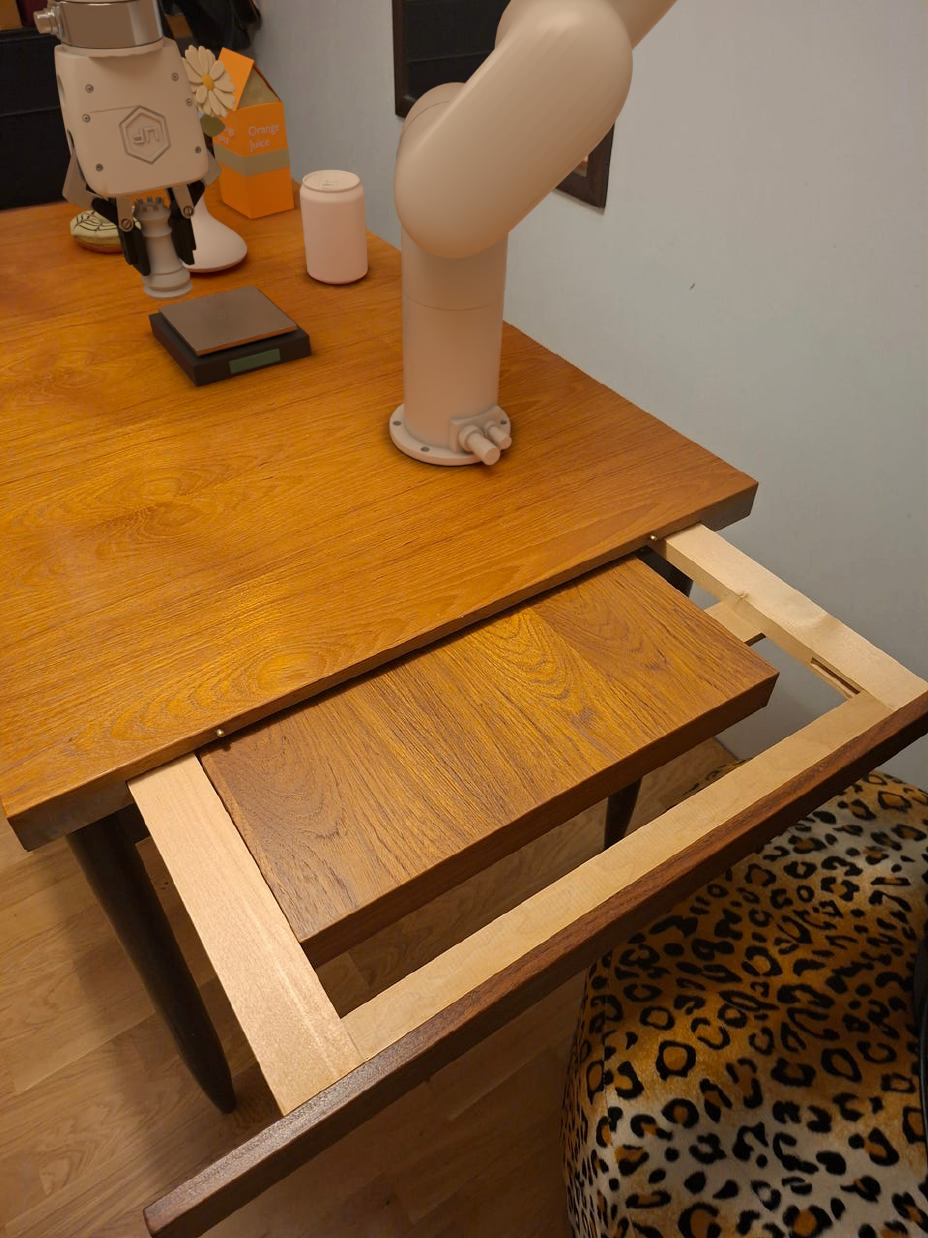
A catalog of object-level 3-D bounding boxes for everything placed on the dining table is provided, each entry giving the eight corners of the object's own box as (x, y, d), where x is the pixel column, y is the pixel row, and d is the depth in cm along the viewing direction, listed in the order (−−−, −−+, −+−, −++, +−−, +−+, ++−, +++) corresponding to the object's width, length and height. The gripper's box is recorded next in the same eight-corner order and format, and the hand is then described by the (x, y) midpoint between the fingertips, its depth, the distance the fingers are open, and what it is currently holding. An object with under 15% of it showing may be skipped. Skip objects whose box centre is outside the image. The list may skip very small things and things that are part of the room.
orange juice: (265, 191, 138) (246, 43, 123) (295, 208, 133) (279, 56, 119) (221, 201, 134) (196, 50, 120) (250, 219, 129) (228, 64, 115)
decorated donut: (94, 224, 126) (87, 197, 124) (165, 229, 126) (160, 202, 123) (63, 253, 119) (54, 224, 116) (139, 258, 118) (132, 230, 116)
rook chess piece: (197, 280, 82) (179, 191, 76) (190, 302, 79) (171, 210, 73) (149, 281, 81) (127, 191, 76) (139, 302, 78) (116, 210, 73)
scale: (312, 355, 101) (310, 335, 99) (197, 387, 95) (193, 367, 94) (261, 307, 109) (258, 288, 108) (152, 334, 104) (148, 314, 102)
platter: (297, 330, 99) (296, 324, 99) (197, 356, 95) (196, 350, 94) (254, 290, 106) (253, 284, 106) (158, 312, 101) (157, 307, 101)
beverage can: (372, 263, 120) (368, 170, 111) (362, 289, 114) (357, 193, 105) (315, 259, 120) (306, 166, 112) (301, 284, 114) (291, 188, 106)
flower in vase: (187, 288, 113) (143, 65, 95) (148, 258, 119) (100, 44, 101) (275, 264, 119) (249, 50, 101) (234, 237, 125) (202, 31, 107)
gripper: (10, 46, 60) (86, 303, 73) (232, 21, 67) (265, 259, 80) (-19, 24, 64) (58, 271, 77) (192, 2, 71) (230, 232, 84)
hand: (163, 262), depth 78 cm, fingers closed on rook chess piece, 3 cm apart
